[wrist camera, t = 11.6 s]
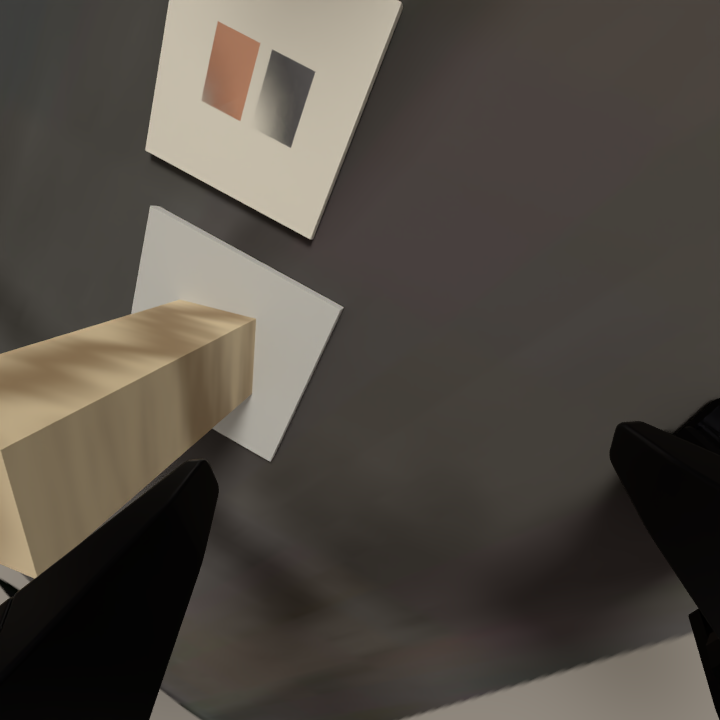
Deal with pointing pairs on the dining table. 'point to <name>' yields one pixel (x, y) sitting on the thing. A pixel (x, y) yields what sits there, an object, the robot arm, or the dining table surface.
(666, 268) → the dining table surface
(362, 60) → the tile
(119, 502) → the maple block
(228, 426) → the pad
